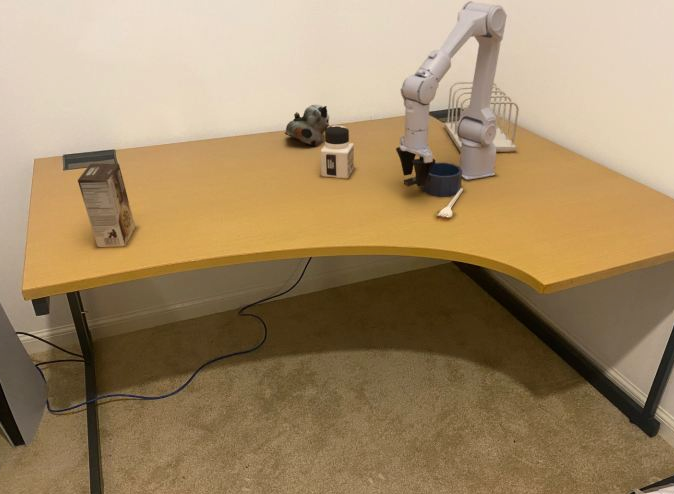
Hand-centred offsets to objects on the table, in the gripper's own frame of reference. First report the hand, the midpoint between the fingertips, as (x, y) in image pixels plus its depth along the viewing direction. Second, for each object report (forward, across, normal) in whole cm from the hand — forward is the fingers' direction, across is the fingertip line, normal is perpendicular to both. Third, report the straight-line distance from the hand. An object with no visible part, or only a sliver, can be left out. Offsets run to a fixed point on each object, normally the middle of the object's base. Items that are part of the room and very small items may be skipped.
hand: (414, 179), depth 147 cm
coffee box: (+5, -6, -73) cm, 73 cm away
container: (+5, -23, -13) cm, 27 cm away
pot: (+5, -1, +6) cm, 8 cm away
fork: (+5, +8, +7) cm, 12 cm away
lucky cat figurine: (+5, -52, -13) cm, 54 cm away
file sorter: (+5, -32, +39) cm, 51 cm away
